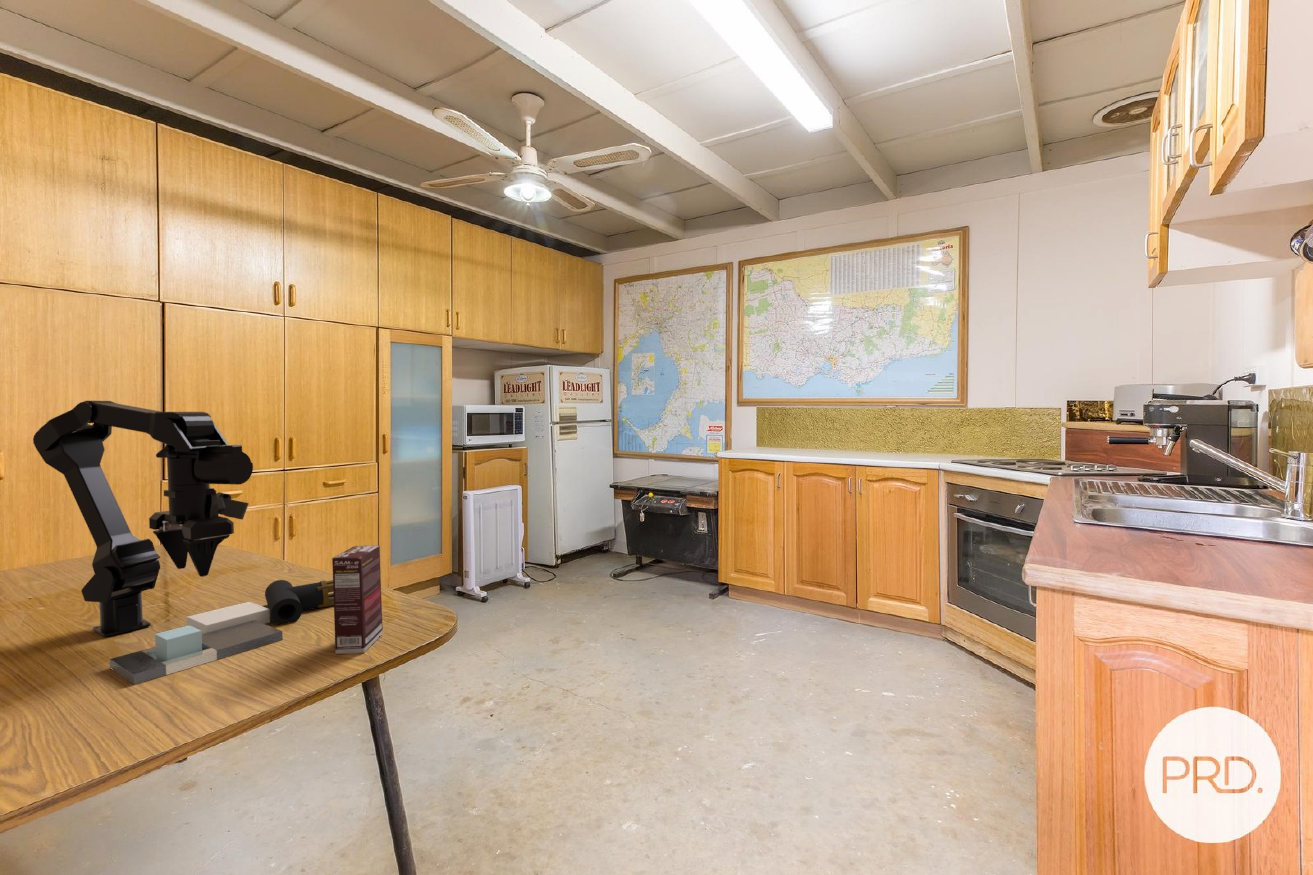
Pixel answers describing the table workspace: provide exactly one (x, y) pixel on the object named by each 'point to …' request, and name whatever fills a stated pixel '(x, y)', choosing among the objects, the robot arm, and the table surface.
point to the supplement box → (357, 599)
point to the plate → (213, 648)
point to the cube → (177, 643)
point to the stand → (229, 617)
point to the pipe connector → (296, 599)
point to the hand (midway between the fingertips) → (192, 572)
